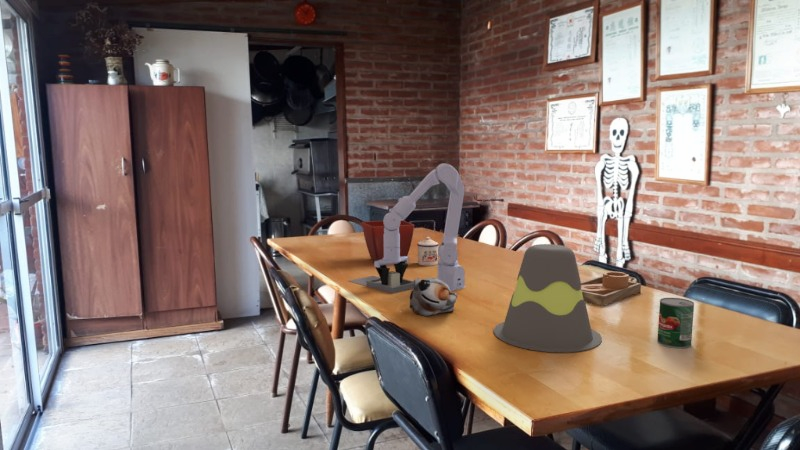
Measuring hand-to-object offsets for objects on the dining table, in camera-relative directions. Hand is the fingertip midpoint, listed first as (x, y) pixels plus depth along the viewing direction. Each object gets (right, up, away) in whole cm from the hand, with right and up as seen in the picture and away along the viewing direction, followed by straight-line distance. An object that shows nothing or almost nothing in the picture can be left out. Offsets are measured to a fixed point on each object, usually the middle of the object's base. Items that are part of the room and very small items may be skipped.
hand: (391, 284), depth 203 cm
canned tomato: (+73, -9, -57) cm, 93 cm away
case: (0, -1, 0) cm, 1 cm away
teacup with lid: (+16, +4, +43) cm, 46 cm away
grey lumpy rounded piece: (+13, -6, -30) cm, 33 cm away
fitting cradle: (+72, -2, -9) cm, 72 cm away
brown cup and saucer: (+72, -3, -9) cm, 72 cm away
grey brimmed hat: (+42, -9, -50) cm, 66 cm away
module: (0, -1, 0) cm, 1 cm away
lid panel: (-9, 0, +10) cm, 13 cm away
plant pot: (-3, +5, +50) cm, 50 cm away
